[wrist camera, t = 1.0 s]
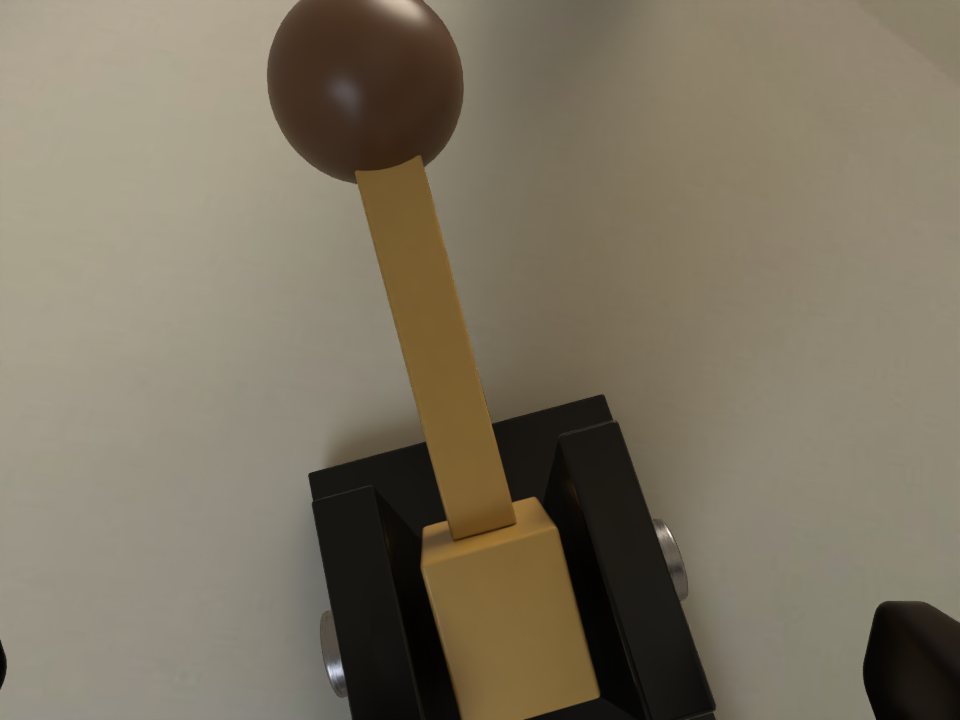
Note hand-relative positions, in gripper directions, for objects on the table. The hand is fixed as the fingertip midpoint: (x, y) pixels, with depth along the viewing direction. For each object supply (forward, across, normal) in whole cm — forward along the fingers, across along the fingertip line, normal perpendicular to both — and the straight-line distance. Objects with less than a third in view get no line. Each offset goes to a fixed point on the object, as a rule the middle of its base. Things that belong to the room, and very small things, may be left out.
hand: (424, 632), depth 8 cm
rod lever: (+7, +1, 0) cm, 7 cm away
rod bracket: (+10, -1, +9) cm, 13 cm away
